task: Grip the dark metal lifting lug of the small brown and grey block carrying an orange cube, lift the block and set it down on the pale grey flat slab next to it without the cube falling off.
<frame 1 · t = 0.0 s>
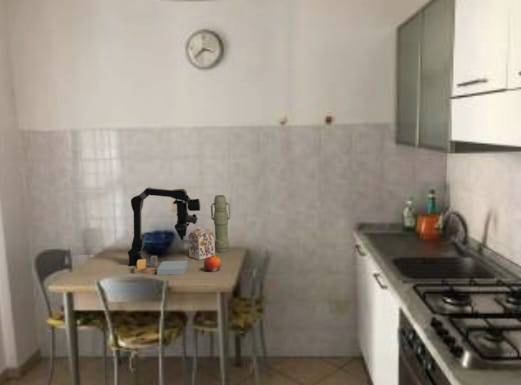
hand: (183, 238, 282), 15 cm above the table, tool pointing down, fingers open, 9 cm apart
orange cube: (141, 267, 270), point 2 cm above the table, touching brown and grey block
tomato: (212, 270, 268), on the table
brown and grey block: (146, 271, 270), on the table, touching orange cube
pale grey flat slab: (172, 270, 270), on the table
green vase: (221, 251, 310), on the table
decorative jar: (202, 257, 297), on the table
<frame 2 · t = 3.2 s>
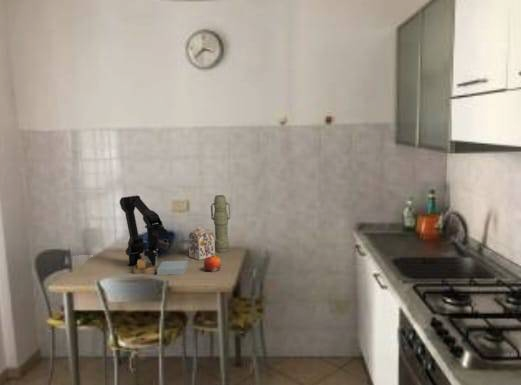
hand: (154, 264, 269), 4 cm above the table, tool pointing down, fingers closed on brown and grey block, 3 cm apart
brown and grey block: (146, 271, 270), on the table, touching orange cube, gripper
everything else where it was.
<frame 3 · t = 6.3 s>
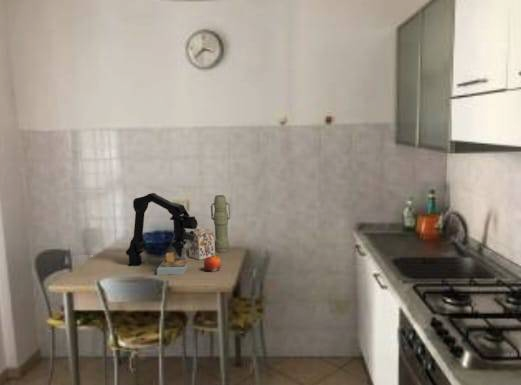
hand: (180, 256, 269), 8 cm above the table, tool pointing down, fingers closed on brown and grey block, 3 cm apart
orange cube: (170, 260, 269), point 5 cm above the table, touching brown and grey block
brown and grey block: (175, 264, 269), point 3 cm above the table, touching orange cube, gripper
everything else where it was.
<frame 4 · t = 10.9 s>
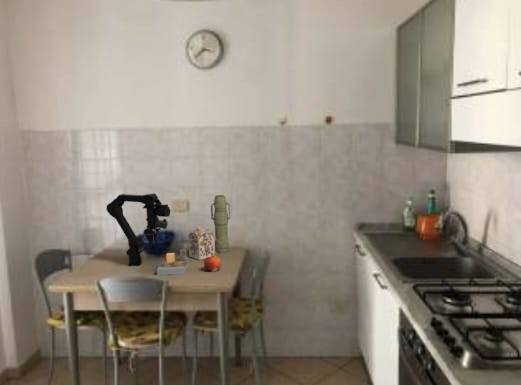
hand: (153, 243, 278), 13 cm above the table, tool pointing down, fingers open, 9 cm apart
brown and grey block: (175, 264, 270), point 3 cm above the table, touching orange cube, pale grey flat slab
everything else where it was.
at the end: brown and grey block inside the target area on the pale grey flat slab (1.7 cm from its centre), point 3.0 cm above the pale grey flat slab's base; orange cube inside the target area on the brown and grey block (2.5 cm from its centre), point 2.2 cm above the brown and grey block's base; the gripper is holding nothing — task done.
